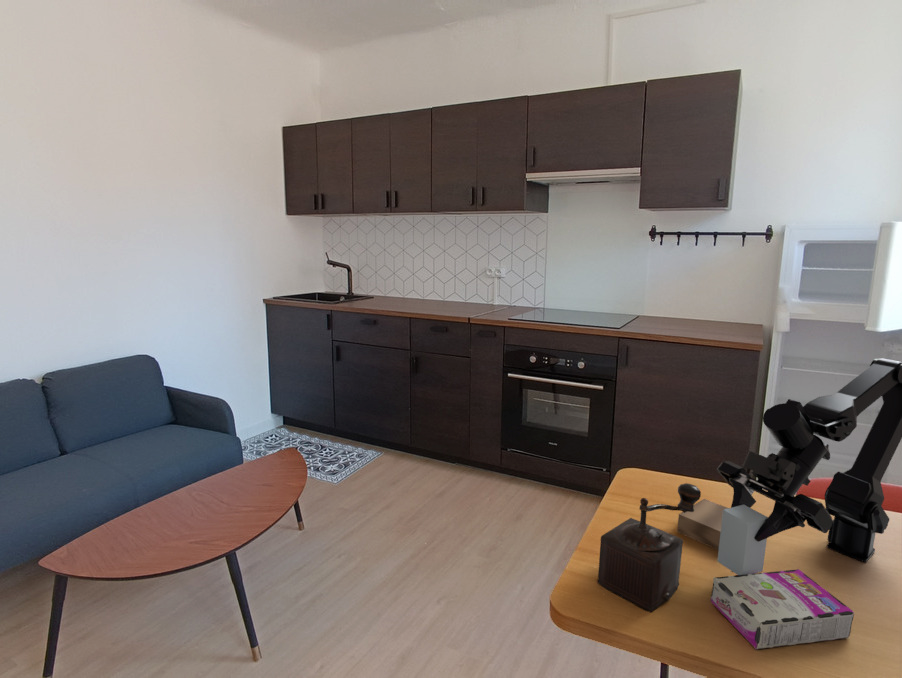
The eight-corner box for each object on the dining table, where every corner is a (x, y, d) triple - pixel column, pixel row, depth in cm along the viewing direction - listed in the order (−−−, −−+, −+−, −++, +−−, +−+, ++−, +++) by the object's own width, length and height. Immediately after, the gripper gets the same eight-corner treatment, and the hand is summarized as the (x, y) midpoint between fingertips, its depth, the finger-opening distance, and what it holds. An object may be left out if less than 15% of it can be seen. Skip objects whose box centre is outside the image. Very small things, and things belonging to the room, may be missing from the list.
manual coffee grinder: (654, 616, 88) (664, 514, 84) (595, 583, 96) (602, 489, 93) (696, 577, 98) (707, 485, 95) (640, 551, 106) (648, 465, 103)
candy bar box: (795, 594, 94) (708, 601, 91) (799, 568, 93) (712, 575, 90) (851, 641, 83) (754, 651, 80) (856, 612, 82) (759, 621, 80)
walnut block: (754, 536, 112) (757, 518, 111) (731, 555, 105) (733, 536, 104) (702, 515, 120) (704, 498, 119) (677, 531, 113) (678, 514, 112)
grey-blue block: (737, 555, 98) (743, 504, 96) (762, 571, 93) (769, 518, 92) (717, 561, 96) (723, 509, 94) (741, 577, 92) (748, 523, 90)
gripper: (729, 419, 101) (678, 484, 99) (831, 456, 84) (772, 535, 82) (754, 453, 105) (706, 515, 103) (856, 495, 88) (801, 571, 86)
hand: (742, 532), depth 93 cm, fingers closed on grey-blue block, 5 cm apart
